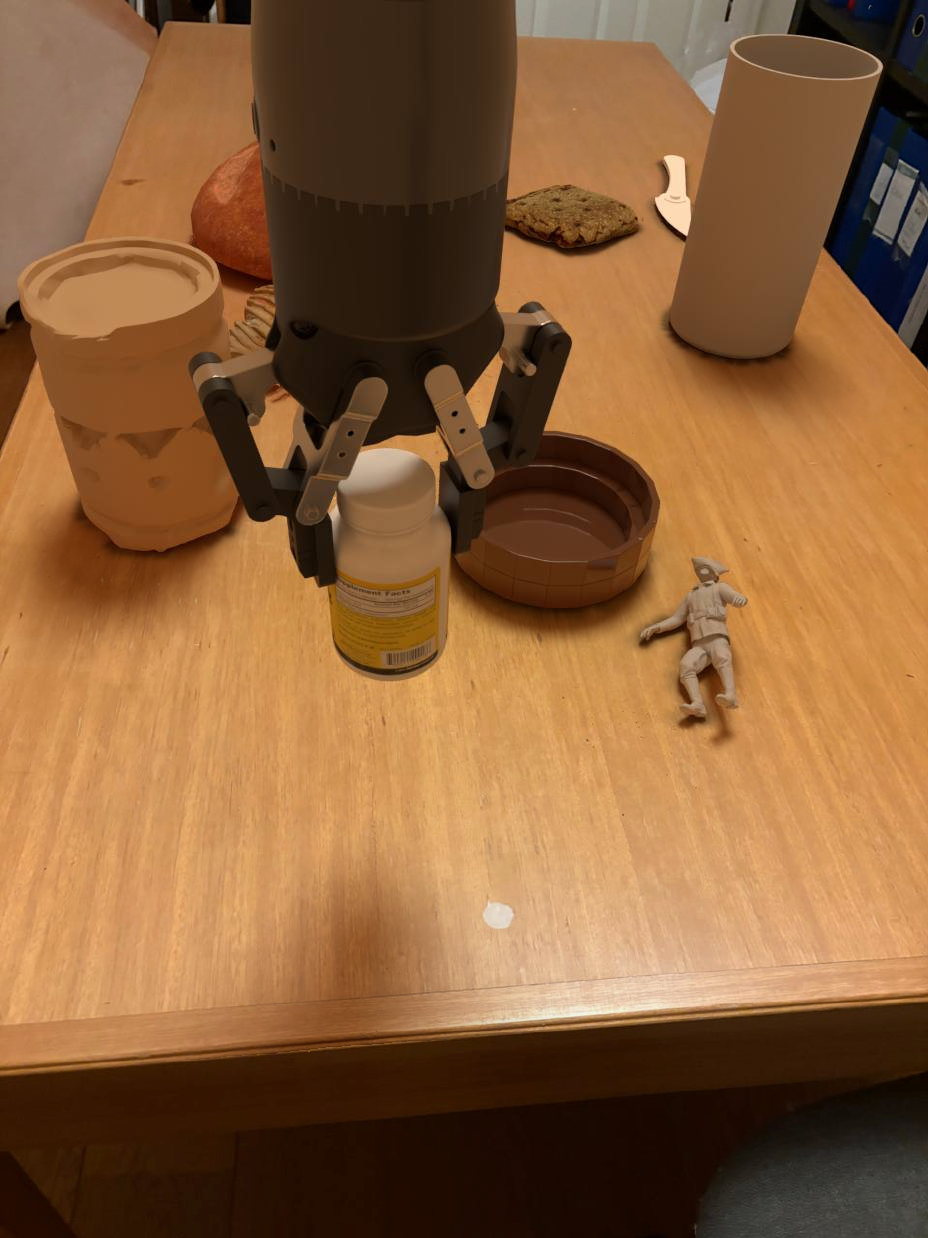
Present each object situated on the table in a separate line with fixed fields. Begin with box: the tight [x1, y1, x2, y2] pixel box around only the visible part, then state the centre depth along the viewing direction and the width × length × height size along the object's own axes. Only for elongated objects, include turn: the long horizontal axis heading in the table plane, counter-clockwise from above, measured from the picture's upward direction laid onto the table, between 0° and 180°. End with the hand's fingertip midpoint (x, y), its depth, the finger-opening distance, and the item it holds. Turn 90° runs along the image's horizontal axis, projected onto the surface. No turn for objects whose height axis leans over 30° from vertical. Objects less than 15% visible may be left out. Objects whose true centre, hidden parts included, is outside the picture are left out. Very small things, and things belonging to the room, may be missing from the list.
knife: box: [654, 154, 692, 237], centre depth 118 cm, size 26×4×1 cm, turn 171°
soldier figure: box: [639, 556, 749, 718], centre depth 63 cm, size 8×5×12 cm
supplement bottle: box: [327, 447, 452, 682], centre depth 40 cm, size 5×5×10 cm
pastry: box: [505, 183, 639, 249], centre depth 111 cm, size 17×17×3 cm
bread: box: [190, 140, 273, 281], centre depth 104 cm, size 23×32×9 cm
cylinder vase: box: [669, 33, 884, 360], centre depth 86 cm, size 12×12×25 cm
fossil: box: [228, 284, 279, 386], centre depth 84 cm, size 12×6×9 cm
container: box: [16, 235, 239, 553], centre depth 66 cm, size 13×13×18 cm
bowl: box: [453, 430, 661, 609], centre depth 69 cm, size 15×15×5 cm
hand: (389, 556), depth 40 cm, fingers closed on supplement bottle, 5 cm apart
